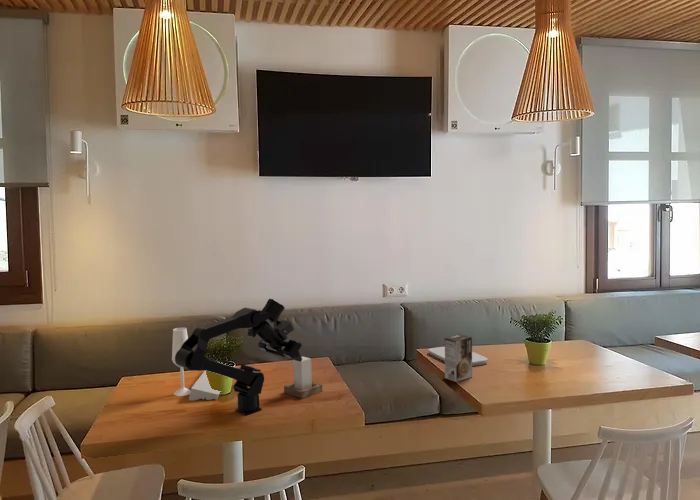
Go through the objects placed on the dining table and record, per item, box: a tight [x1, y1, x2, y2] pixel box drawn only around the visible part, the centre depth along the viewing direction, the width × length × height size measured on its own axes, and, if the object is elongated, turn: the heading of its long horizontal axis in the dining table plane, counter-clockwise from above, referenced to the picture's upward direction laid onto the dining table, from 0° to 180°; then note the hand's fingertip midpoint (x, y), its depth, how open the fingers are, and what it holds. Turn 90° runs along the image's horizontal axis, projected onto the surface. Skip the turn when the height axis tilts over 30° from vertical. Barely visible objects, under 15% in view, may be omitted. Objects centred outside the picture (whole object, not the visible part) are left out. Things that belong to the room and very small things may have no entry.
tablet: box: [428, 345, 489, 367], centre depth 246 cm, size 16×26×2 cm, turn 22°
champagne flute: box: [171, 327, 191, 397], centre depth 208 cm, size 7×7×24 cm
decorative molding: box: [188, 370, 222, 401], centre depth 218 cm, size 34×5×10 cm
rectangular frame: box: [283, 381, 323, 400], centre depth 207 cm, size 10×10×2 cm
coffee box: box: [444, 333, 473, 383], centre depth 219 cm, size 9×6×16 cm
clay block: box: [293, 356, 313, 390], centre depth 207 cm, size 4×4×12 cm
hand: (293, 358), depth 203 cm, fingers open, 9 cm apart
